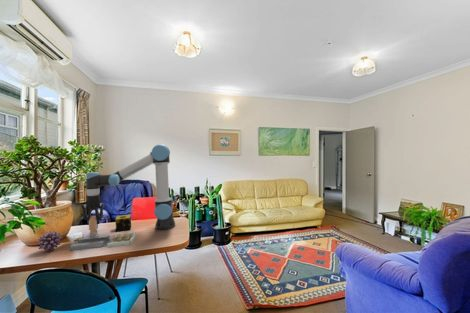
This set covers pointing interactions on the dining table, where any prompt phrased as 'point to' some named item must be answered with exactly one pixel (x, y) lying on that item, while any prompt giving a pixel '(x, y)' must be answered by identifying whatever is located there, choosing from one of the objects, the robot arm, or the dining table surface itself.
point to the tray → (122, 241)
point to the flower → (49, 240)
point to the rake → (92, 227)
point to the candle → (123, 223)
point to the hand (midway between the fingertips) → (93, 229)
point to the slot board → (91, 243)
